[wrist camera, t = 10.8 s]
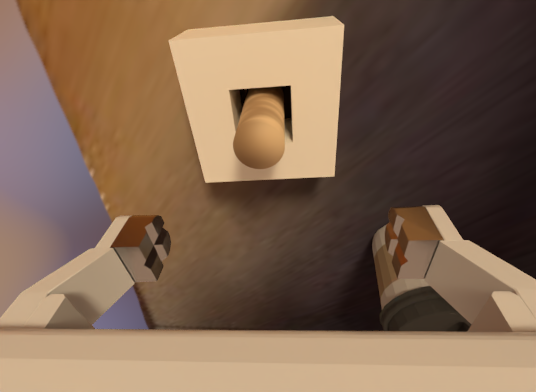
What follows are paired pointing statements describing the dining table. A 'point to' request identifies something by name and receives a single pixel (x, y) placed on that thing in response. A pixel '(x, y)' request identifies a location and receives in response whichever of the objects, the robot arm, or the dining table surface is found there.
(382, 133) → the dining table surface
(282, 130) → the peg
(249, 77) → the socket block
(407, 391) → the robot arm
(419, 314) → the coffee cup
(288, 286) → the dining table surface
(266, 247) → the dining table surface
